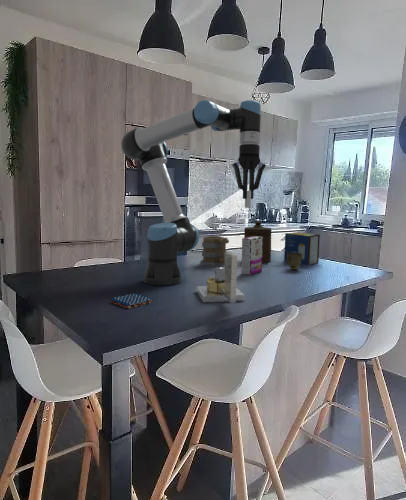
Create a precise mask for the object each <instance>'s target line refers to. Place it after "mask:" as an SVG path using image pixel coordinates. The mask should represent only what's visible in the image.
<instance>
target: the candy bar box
mask: <svg viewBox="0 0 406 500" xmlns="http://www.w3.org/2000/svg"><path fill="white" fill-rule="evenodd" d="M262 245H263V237H257V236H254V237H248V238H244V237H243V238H241V274H242V275H249V276H251V275H255V274H258V273H261V272H263V263H262Z"/></svg>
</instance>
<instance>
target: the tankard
mask: <svg viewBox="0 0 406 500" xmlns="http://www.w3.org/2000/svg"><path fill="white" fill-rule="evenodd" d="M229 242H230V240H229V239H228V237H223V236H216V235H215V236H213V235H212V236H211V235H209V236H203V241H202V242H201V247H202V249H203V251H202V252H201V256H202V257H203V258H202V259H201V260H200V265H201V266H204V267H214V268H216V267H225V252H227V248H226V247H227V246H226V245H227V244H229Z"/></svg>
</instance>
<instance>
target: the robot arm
mask: <svg viewBox="0 0 406 500" xmlns="http://www.w3.org/2000/svg"><path fill="white" fill-rule="evenodd" d="M261 109H262V108H261V103H260V102H259V101H258V100H254V99H249V100H248V99H246V100H244V101H241V102H240V107H238V108H230V109H227V108H225V107H224V106H221V105H219V104H217V103H215V102H213V101H211V100H206V99H203V100H200V101H198V102H197V104H196V105H195V106H194V108H192V109H189V110H186V111H185V112H182V113H179V114H177V115H174V116H171V117H168V118H166V119H164V120H161V121H159V122H156V123H153V124H151V125H149V126H146V127H141V126H139V127H136V128H134V129H131V130H129V131H128V132H126V133H125V134H124V135H123V137H122V139H121V143H120V144H121V150H122V152H123V154H124V155H125V156H126V157H127V158H128V159H130V160H133V161H138V162H139V163H140V166H141V169H142V170H143V171H145V172H147V175H148V176H147V177H148V178H149V182H150V184H151V187H152V190H153V192H154V195H155V197H156V201H157V204H158V206H159V208H160V211H161V214H162V217H163V220H164V222H161V223H160V222H159V223H155V224H151V225H150V226H148V229H147V235H146V238H147V265H146V267H145V271H144V274H143V283H144V284H147V285H151V286H171V285H176V284H180V283H181V282H182V274H181V271H180V268H179V265H178V254H179V253H185V252H186V253H187V252H188V251H191V250H193V249H195V247H196V246H197V245H198V242H199V241H200V233H199V230H198V228H197V227H196V226H195V225H194V224H192V223H191V222H190V219H189V217H188V216H187V215H185V214H184V213H183V209H182V207H181V204H180V202H179V199H178V197H177V193H176V191H175V189H174V186H173V185H174V184H173V183H172V179H171V177H170V175H169V172H168V168H167V163H168V159H167V158H168V153H169V150H168V145H167V143H166V142H168V141H170V140H175V139H176V138H180V137H182V136H185V135H187V134H191V133H193V132H197V131H198V130H201V129H205V128H207V127H210V128H211V129H212V130H213V131H214V132H224V131H235V130H239V144H240V145H239V150H238V151H239V153H238V159H237V160H236V161H235V162H233V163H232V164H231V167H232V168H233V170H234V174H235V178H236V183H237V188H238V189H239V190H242V199H243V200H244V208H246V209H251V207H252V206H251V204H252V202H251V201H252V200H253V199H254V191H255V190H258V189H259V187H260V183H261V179H262V176H263V172H264V169H265V168H266V166H267V164H266V163H264V162H262V161H261V158H260V148H261V147H260V141H261V140H260V139H261V120H262V119H261V118H262V117H261V116H262V112H261V111H262V110H261ZM239 167H241V169H242V175H241V170H240V168H239ZM257 167H258V169H257V173H256V176H255V172H256V168H257ZM248 179H249V180H248Z"/></svg>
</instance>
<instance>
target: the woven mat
mask: <svg viewBox="0 0 406 500" xmlns="http://www.w3.org/2000/svg"><path fill="white" fill-rule="evenodd" d="M109 302H110V303H111V304H115V305H117V306H120V307H122V308H126V309H128V310H129V309H133V308H137V307H139V306H140V307H143V306H145V305H149V304H153V303H154V299H153V298H151V297H148V296H145V295H143V294H139V293H138V294H137V293H130V294H125V295H121V296H116V297H112V298H111V299H110V300H109ZM148 303H149V304H148Z"/></svg>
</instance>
